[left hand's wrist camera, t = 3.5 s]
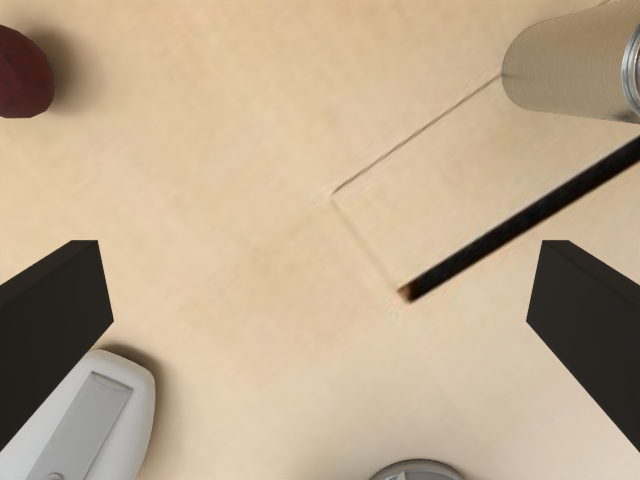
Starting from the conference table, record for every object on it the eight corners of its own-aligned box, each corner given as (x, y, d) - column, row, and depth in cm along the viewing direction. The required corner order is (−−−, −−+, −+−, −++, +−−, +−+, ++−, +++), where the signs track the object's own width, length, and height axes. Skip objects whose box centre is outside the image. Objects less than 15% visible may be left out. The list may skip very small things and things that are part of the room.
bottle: (592, 90, 39) (878, 98, 19) (512, 123, 40) (703, 163, 20) (577, 5, 37) (887, -89, 17) (492, 43, 38) (687, -3, 18)
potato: (26, 11, 37) (-38, -5, 30) (89, 88, 39) (42, 89, 32) (-29, 61, 38) (-102, 56, 32) (34, 133, 40) (-21, 142, 34)
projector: (210, 466, 56) (174, 590, 42) (60, 502, 58) (-20, 630, 45) (136, 332, 49) (65, 430, 35) (-33, 380, 51) (-162, 489, 37)
